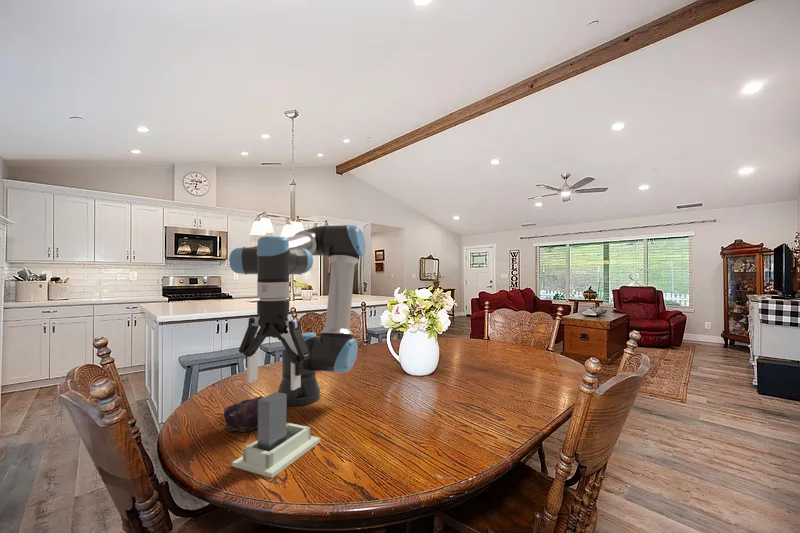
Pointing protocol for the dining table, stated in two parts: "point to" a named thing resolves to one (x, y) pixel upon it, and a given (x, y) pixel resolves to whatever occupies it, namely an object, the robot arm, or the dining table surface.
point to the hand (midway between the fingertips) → (273, 384)
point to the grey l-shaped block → (272, 421)
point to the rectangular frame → (277, 453)
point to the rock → (242, 415)
